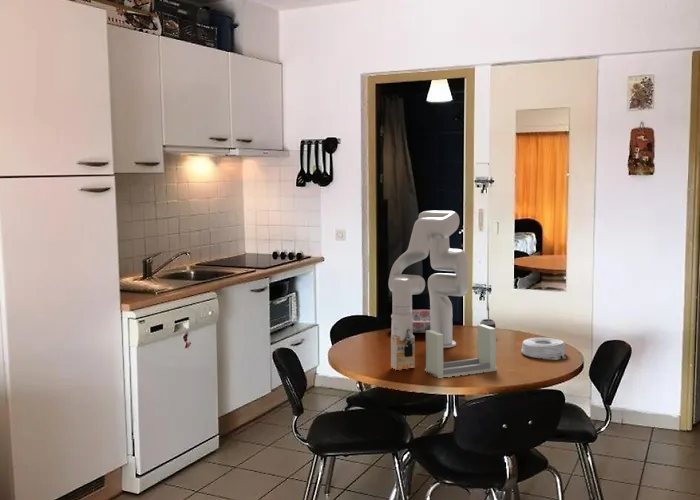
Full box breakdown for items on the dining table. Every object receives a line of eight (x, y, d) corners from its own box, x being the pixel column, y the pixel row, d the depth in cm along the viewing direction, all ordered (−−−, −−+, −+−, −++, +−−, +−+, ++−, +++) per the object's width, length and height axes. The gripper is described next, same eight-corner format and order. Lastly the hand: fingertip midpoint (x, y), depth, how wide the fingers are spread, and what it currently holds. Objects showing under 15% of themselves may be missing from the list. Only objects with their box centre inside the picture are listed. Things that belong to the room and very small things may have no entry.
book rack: (424, 371, 275) (424, 330, 274) (481, 363, 285) (481, 323, 283) (439, 378, 265) (438, 335, 263) (497, 370, 274) (497, 329, 273)
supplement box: (396, 371, 276) (395, 337, 275) (390, 368, 281) (390, 335, 279) (415, 368, 280) (415, 335, 278) (409, 365, 284) (409, 332, 283)
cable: (567, 361, 287) (567, 346, 286) (521, 359, 291) (521, 345, 290) (563, 350, 304) (563, 336, 303) (520, 349, 308) (520, 335, 307)
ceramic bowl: (387, 326, 358) (387, 310, 357) (446, 324, 360) (446, 308, 359) (394, 339, 329) (394, 322, 329) (458, 337, 331) (458, 320, 330)
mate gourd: (486, 340, 325) (486, 307, 324) (475, 336, 332) (475, 304, 330) (499, 337, 329) (499, 305, 327) (487, 334, 336) (487, 302, 334)
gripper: (383, 307, 284) (384, 350, 286) (403, 314, 268) (404, 360, 270) (401, 305, 287) (401, 348, 289) (421, 312, 271) (422, 357, 273)
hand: (402, 353), depth 280 cm, fingers open, 9 cm apart
